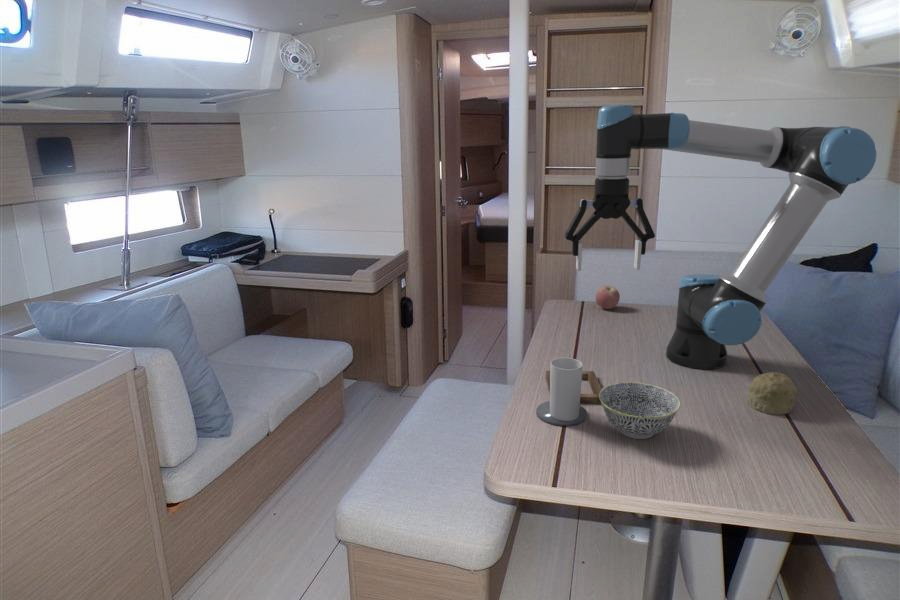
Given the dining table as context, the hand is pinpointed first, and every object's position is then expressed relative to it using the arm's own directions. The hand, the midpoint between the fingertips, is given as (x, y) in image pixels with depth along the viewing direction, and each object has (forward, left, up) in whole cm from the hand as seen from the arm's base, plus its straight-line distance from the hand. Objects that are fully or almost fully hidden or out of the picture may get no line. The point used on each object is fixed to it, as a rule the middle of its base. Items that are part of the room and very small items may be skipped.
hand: (607, 268), depth 141 cm
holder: (+8, +6, -28) cm, 30 cm away
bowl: (-3, +26, -29) cm, 39 cm away
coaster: (+12, +19, -28) cm, 36 cm away
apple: (-13, -59, -29) cm, 67 cm away
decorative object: (-35, +14, -29) cm, 47 cm away
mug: (+12, +18, -28) cm, 35 cm away
